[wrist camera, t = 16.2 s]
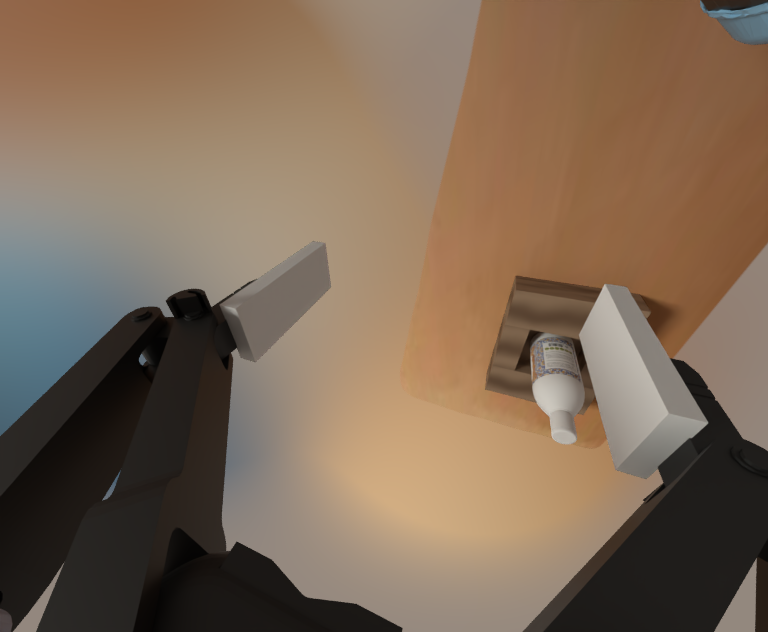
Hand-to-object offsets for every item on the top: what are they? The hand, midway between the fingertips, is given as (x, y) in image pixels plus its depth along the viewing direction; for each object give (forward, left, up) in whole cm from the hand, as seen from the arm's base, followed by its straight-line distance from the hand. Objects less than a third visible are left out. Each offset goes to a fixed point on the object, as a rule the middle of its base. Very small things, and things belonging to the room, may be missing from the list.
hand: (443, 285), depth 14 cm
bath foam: (+14, +30, -36) cm, 49 cm away
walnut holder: (+14, +30, -37) cm, 49 cm away
